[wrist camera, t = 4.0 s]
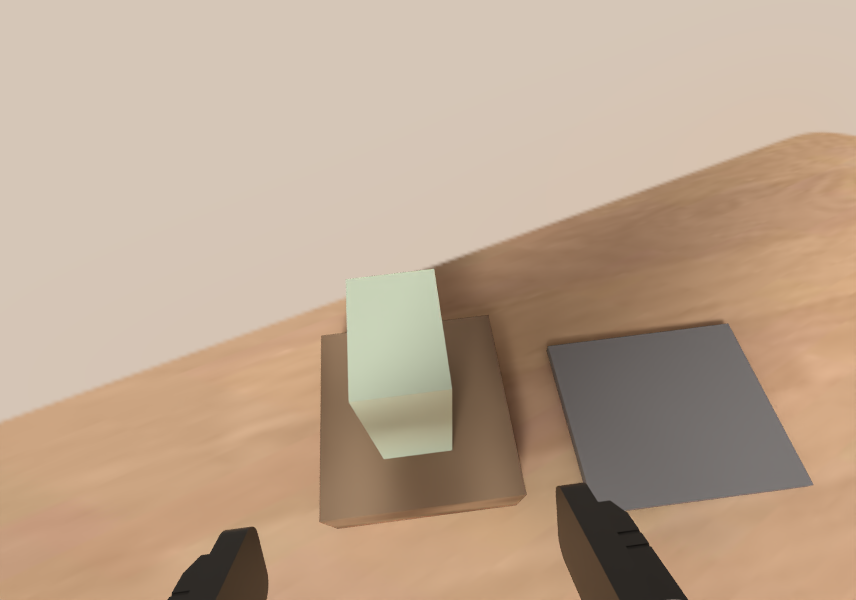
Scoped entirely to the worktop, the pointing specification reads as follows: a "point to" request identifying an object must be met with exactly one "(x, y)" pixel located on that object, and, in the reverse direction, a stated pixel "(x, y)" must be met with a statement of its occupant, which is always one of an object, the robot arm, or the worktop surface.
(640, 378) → the mat
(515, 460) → the brown rectangular box
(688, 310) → the worktop surface
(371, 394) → the pale green rectangular block
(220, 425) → the worktop surface
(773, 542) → the worktop surface
